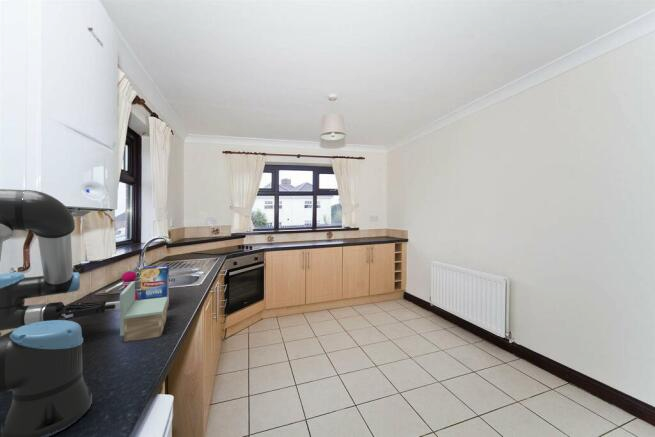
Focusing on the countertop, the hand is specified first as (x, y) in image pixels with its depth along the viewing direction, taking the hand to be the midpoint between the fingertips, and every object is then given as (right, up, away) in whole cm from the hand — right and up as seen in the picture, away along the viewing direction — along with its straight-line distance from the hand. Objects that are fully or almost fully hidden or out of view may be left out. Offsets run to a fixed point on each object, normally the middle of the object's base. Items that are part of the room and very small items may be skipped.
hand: (125, 304), depth 107 cm
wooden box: (+7, -12, +3) cm, 14 cm away
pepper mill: (-20, -11, +28) cm, 36 cm away
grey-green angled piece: (+6, -9, +3) cm, 11 cm away
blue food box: (-4, -11, +24) cm, 27 cm away
